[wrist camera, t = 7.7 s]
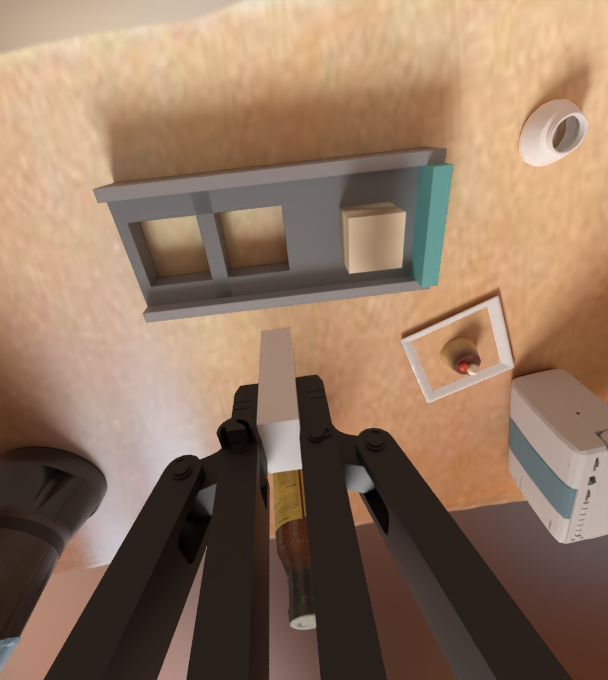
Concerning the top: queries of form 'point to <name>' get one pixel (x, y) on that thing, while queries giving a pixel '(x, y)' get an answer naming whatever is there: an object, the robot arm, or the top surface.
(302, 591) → the sauce bottle
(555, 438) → the stereo radio cassette player
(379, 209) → the maple block
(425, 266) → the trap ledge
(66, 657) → the robot arm
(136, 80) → the top surface
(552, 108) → the white jar
